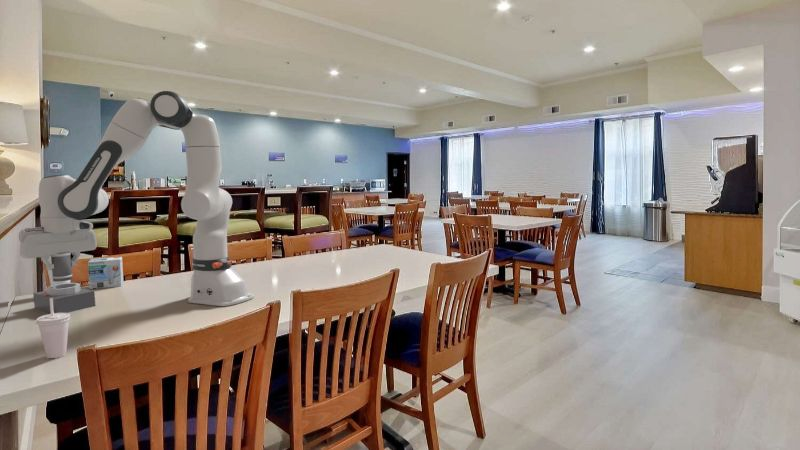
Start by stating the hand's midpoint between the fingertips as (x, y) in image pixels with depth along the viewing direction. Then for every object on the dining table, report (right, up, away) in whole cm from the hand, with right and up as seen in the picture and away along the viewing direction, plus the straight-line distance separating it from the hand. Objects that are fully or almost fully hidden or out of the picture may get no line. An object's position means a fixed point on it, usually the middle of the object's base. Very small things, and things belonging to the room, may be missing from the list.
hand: (61, 267), depth 141 cm
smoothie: (+27, -18, -37) cm, 49 cm away
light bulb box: (-5, -10, +29) cm, 31 cm away
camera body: (0, -13, +1) cm, 13 cm away
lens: (0, -4, 0) cm, 4 cm away
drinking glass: (-13, -12, +16) cm, 23 cm away
